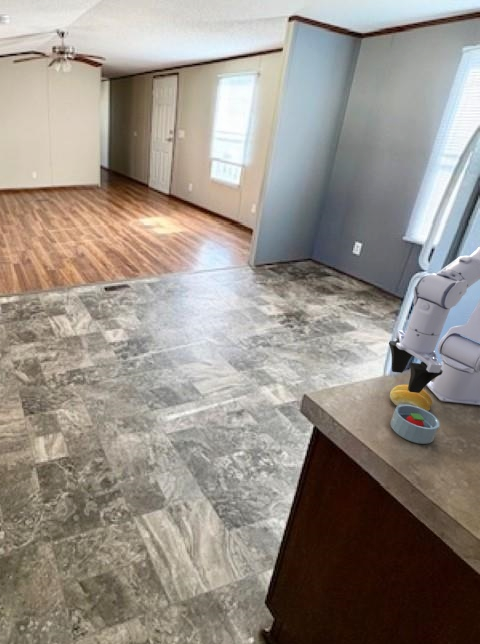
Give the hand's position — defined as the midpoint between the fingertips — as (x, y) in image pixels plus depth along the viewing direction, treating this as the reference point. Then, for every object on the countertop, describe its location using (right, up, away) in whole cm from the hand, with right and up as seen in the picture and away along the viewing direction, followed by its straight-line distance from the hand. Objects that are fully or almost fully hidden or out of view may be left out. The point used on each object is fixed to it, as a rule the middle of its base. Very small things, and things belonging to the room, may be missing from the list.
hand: (405, 381), depth 96 cm
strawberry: (0, -11, -2) cm, 11 cm away
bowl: (0, -11, -2) cm, 11 cm away
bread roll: (+7, -7, +8) cm, 12 cm away
